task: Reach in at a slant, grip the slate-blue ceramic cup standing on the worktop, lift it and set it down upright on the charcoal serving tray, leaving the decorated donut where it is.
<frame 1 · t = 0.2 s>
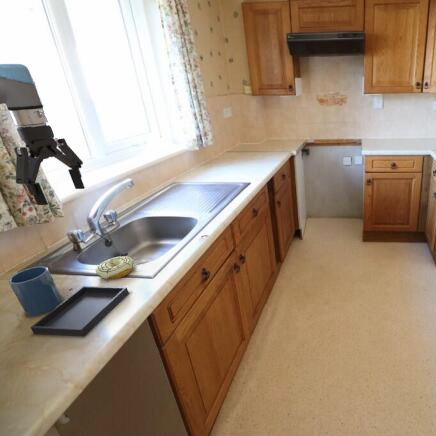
hand: (62, 196, 99), 26 cm above the counter, tool pointing down, fingers open, 13 cm apart
decorated donut: (117, 272, 107), on the counter
serving tray: (85, 312, 89), on the counter
tea cup: (45, 306, 92), on the counter
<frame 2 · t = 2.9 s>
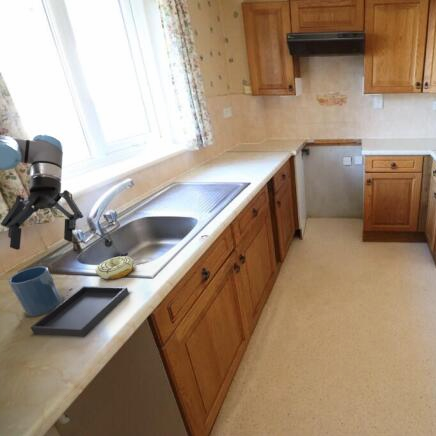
hand: (41, 244, 95), 15 cm above the counter, tool tilted 45°, fingers open, 13 cm apart
nothing on the counter moved.
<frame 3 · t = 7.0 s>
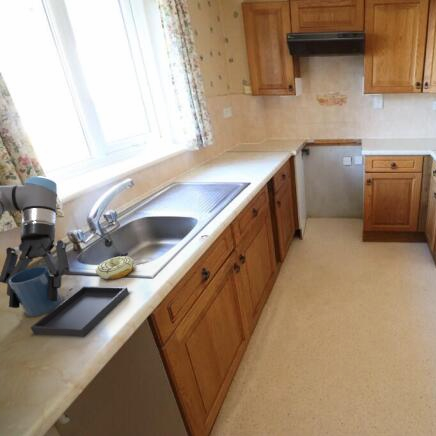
hand: (33, 303, 88), 4 cm above the counter, tool tilted 45°, fingers closed on tea cup, 8 cm apart
tea cup: (45, 306, 92), on the counter, touching gripper
everything else where it was.
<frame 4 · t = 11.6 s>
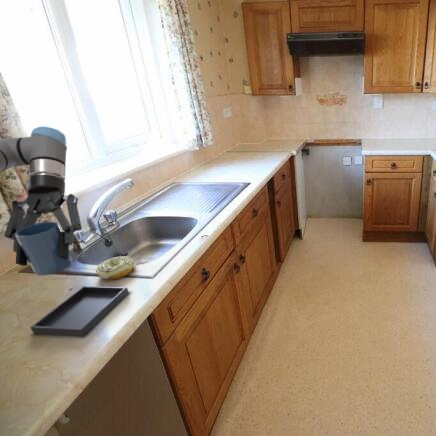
hand: (42, 260, 80), 18 cm above the counter, tool tilted 45°, fingers closed on tea cup, 8 cm apart
tea cup: (54, 266, 84), point 15 cm above the counter, touching gripper
everything else where it was.
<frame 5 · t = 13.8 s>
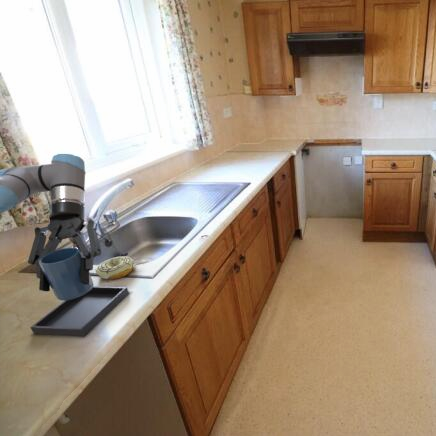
hand: (64, 286, 82), 11 cm above the counter, tool tilted 45°, fingers closed on tea cup, 8 cm apart
tea cup: (75, 290, 86), point 7 cm above the counter, touching gripper
everything else where it was.
when the fingers open (4 cm above the counter, at t = 16.1 s): tea cup stays where it is, resting on serving tray.
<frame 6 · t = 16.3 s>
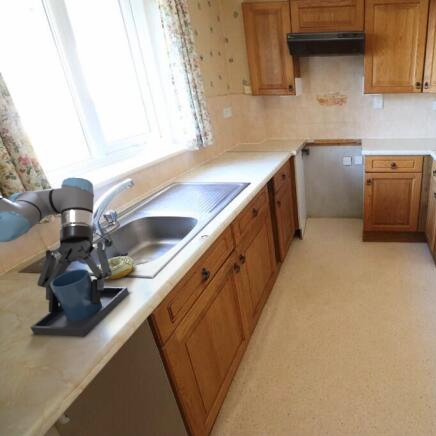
hand: (75, 307, 85), 4 cm above the counter, tool tilted 45°, fingers open, 9 cm apart
tea cup: (84, 310, 89), point 1 cm above the counter, touching serving tray
everything else where it was.
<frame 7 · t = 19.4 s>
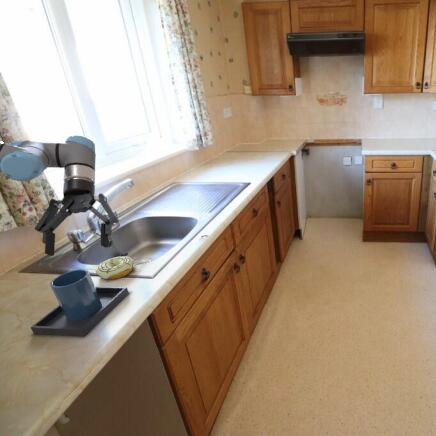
hand: (77, 250, 91), 15 cm above the counter, tool tilted 45°, fingers open, 13 cm apart
nothing on the counter moved.
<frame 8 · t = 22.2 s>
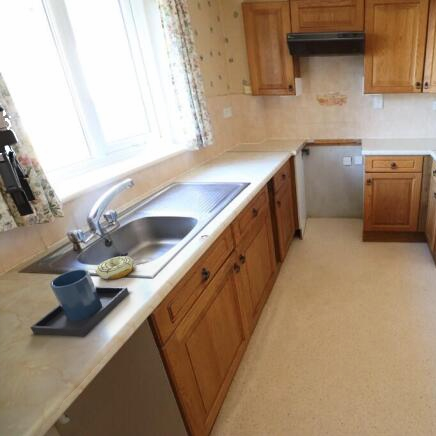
hand: (29, 207, 90), 27 cm above the counter, tool pointing down, fingers open, 13 cm apart
nothing on the counter moved.
at the end: tea cup inside the target area in the serving tray (0.1 cm from its centre), point 0.5 cm above the serving tray's base; tea cup tilted 0°; the gripper is holding nothing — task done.
